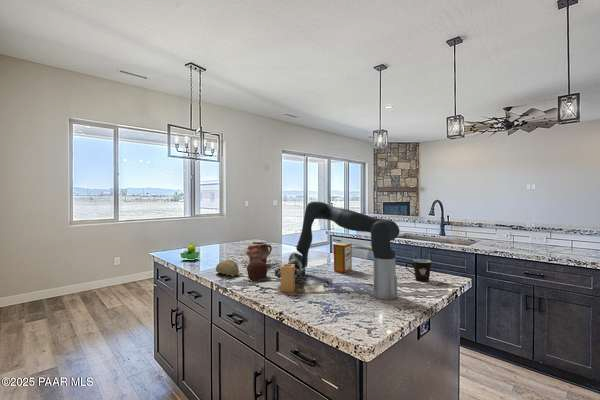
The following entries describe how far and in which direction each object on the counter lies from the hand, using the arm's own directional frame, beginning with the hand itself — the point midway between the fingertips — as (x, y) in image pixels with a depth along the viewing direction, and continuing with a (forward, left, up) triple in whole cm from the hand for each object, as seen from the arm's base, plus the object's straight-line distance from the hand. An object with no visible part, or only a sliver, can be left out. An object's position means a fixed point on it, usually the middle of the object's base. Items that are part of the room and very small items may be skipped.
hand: (288, 276), depth 139 cm
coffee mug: (-68, -16, -8) cm, 70 cm away
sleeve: (0, 0, -6) cm, 6 cm away
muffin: (+16, -22, -8) cm, 28 cm away
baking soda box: (-32, -37, -8) cm, 50 cm away
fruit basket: (+67, -74, -8) cm, 100 cm away
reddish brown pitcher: (+18, -57, -8) cm, 60 cm away
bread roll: (+34, -34, -8) cm, 49 cm away
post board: (-6, 0, -7) cm, 10 cm away
